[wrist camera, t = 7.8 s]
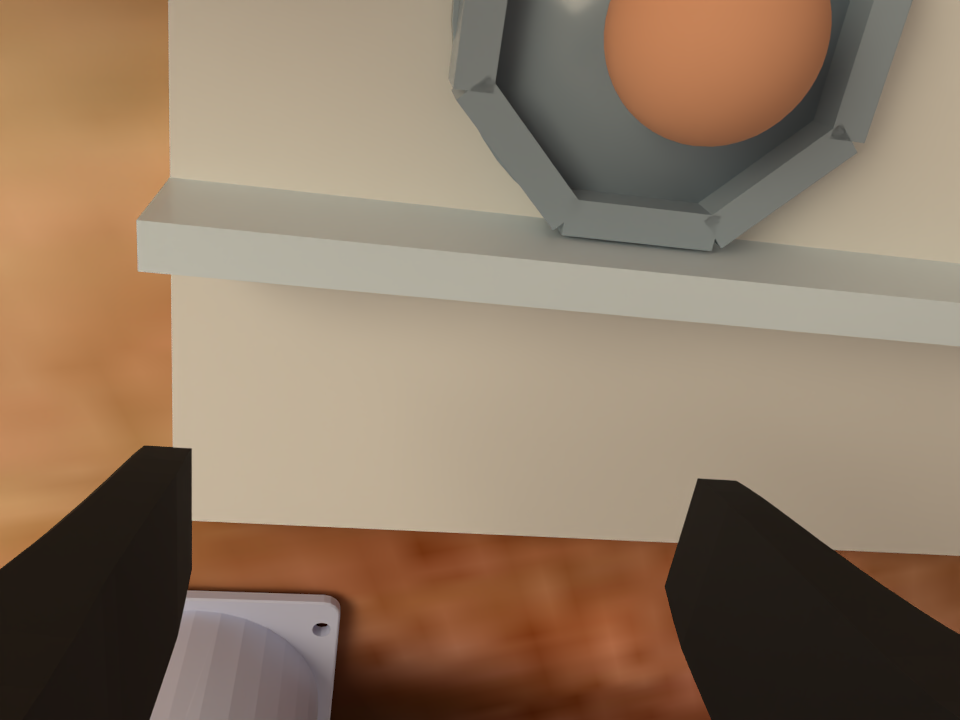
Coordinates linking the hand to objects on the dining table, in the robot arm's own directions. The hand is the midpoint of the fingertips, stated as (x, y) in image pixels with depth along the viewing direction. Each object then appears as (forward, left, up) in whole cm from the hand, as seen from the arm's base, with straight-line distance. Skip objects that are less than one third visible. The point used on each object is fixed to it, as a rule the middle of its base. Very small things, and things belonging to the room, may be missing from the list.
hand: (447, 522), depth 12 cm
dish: (+6, -5, -9) cm, 12 cm away
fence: (+2, -6, -10) cm, 12 cm away
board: (+2, -6, -10) cm, 12 cm away
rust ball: (+6, -5, -6) cm, 10 cm away
